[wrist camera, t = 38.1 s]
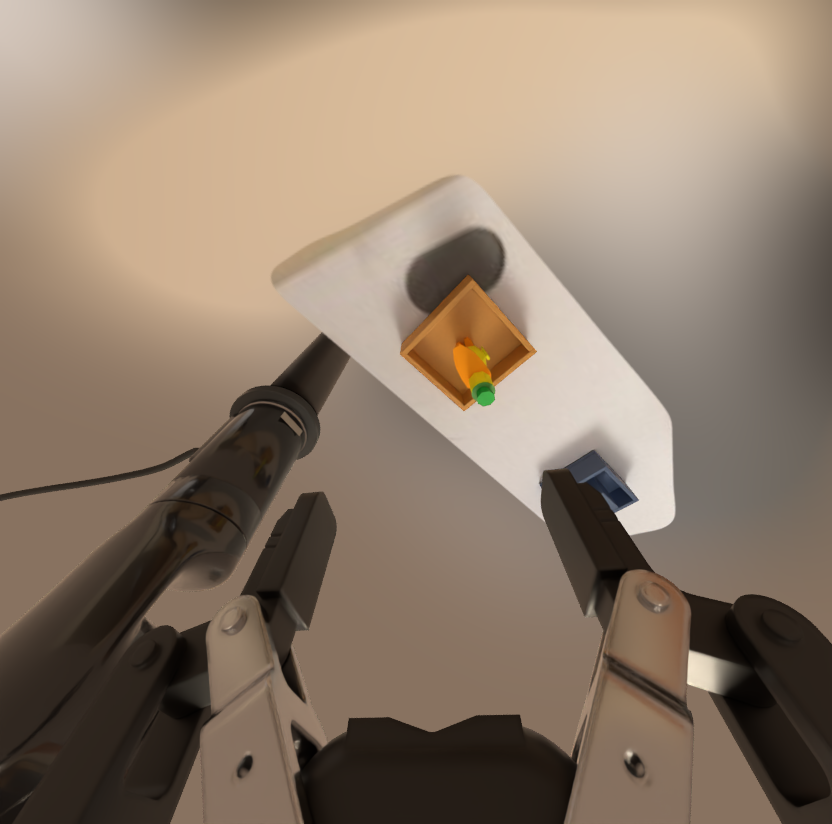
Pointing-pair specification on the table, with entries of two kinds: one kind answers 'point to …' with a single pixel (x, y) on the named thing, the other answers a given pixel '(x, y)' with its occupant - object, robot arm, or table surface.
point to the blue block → (602, 492)
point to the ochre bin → (452, 323)
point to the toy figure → (474, 371)
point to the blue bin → (602, 478)
